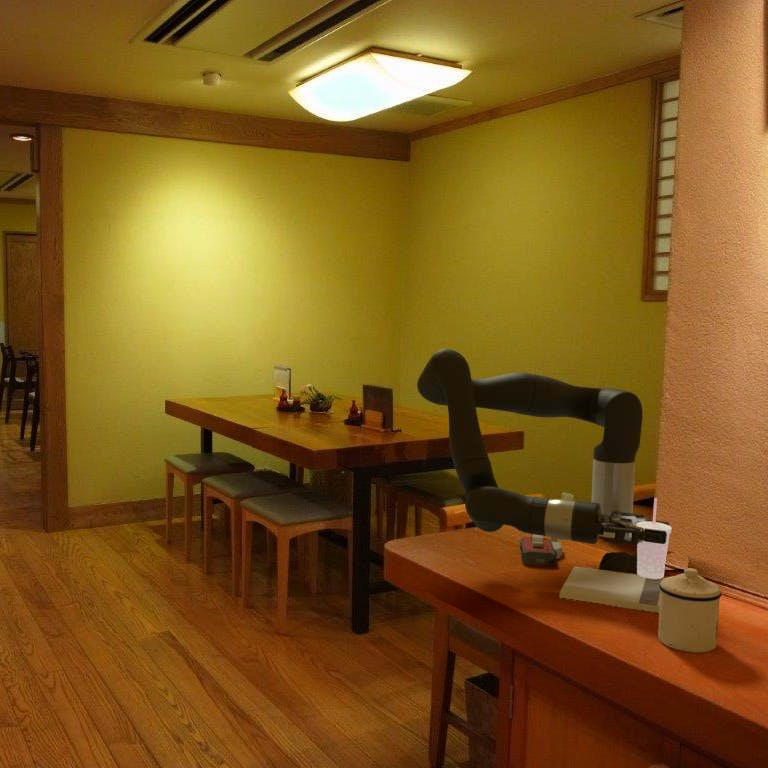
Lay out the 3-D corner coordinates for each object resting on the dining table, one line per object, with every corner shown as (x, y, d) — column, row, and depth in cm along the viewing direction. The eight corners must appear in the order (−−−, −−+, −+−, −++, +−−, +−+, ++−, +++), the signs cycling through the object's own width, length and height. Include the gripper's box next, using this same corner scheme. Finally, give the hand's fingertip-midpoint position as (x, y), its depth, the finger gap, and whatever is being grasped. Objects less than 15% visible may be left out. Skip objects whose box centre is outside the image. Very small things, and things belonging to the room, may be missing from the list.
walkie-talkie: (566, 570, 166) (558, 542, 186) (567, 549, 166) (558, 522, 185) (521, 568, 167) (517, 540, 187) (522, 546, 167) (518, 520, 186)
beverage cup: (656, 582, 146) (662, 504, 145) (625, 573, 151) (631, 497, 149) (674, 576, 150) (680, 499, 149) (644, 567, 155) (649, 492, 153)
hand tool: (678, 567, 169) (679, 545, 169) (690, 573, 165) (691, 550, 165) (592, 572, 165) (593, 549, 165) (602, 579, 161) (603, 555, 161)
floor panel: (574, 572, 164) (574, 564, 164) (705, 590, 155) (705, 582, 155) (559, 598, 149) (559, 590, 149) (703, 619, 140) (704, 611, 140)
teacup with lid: (730, 652, 127) (735, 577, 126) (676, 656, 125) (680, 580, 124) (686, 622, 139) (690, 554, 138) (636, 625, 137) (640, 556, 136)
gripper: (567, 509, 148) (666, 521, 142) (580, 493, 161) (671, 503, 155) (564, 550, 149) (663, 564, 143) (577, 531, 162) (668, 543, 156)
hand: (667, 533), depth 149 cm, fingers closed on beverage cup, 6 cm apart
